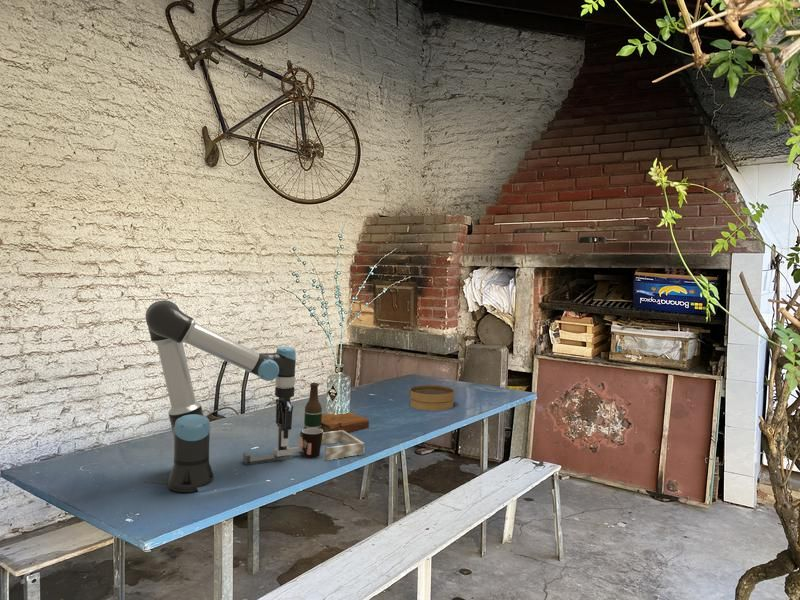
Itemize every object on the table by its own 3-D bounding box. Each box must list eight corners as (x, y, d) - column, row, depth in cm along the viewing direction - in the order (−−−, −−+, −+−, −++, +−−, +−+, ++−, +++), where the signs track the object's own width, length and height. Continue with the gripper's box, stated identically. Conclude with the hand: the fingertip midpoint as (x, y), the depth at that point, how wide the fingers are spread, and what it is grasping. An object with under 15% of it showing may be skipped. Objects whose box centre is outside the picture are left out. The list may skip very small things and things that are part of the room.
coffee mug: (324, 457, 230) (325, 433, 230) (302, 459, 227) (303, 434, 227) (318, 448, 241) (319, 425, 241) (298, 450, 238) (298, 426, 238)
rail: (246, 465, 218) (246, 456, 218) (242, 461, 222) (242, 452, 222) (292, 458, 228) (292, 449, 228) (288, 455, 231) (288, 446, 231)
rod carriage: (279, 459, 222) (280, 427, 221) (270, 451, 230) (271, 421, 230) (311, 454, 229) (312, 424, 228) (301, 447, 237) (302, 418, 237)
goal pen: (326, 460, 227) (327, 448, 227) (306, 445, 244) (307, 434, 244) (364, 455, 236) (364, 443, 236) (342, 441, 253) (343, 430, 253)
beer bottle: (314, 431, 265) (316, 380, 264) (324, 435, 260) (326, 383, 258) (300, 434, 260) (302, 382, 258) (310, 439, 254) (312, 385, 253)
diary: (330, 438, 257) (330, 426, 257) (306, 429, 271) (306, 417, 270) (368, 430, 273) (369, 418, 273) (344, 421, 287) (344, 410, 286)
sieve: (399, 408, 317) (400, 388, 316) (427, 401, 336) (428, 382, 335) (435, 417, 301) (436, 396, 300) (462, 410, 320) (463, 390, 319)
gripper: (301, 390, 221) (299, 449, 223) (286, 381, 235) (284, 437, 237) (283, 391, 217) (280, 451, 219) (268, 382, 231) (266, 439, 233)
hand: (282, 444), depth 228 cm, fingers closed on rod carriage, 3 cm apart
